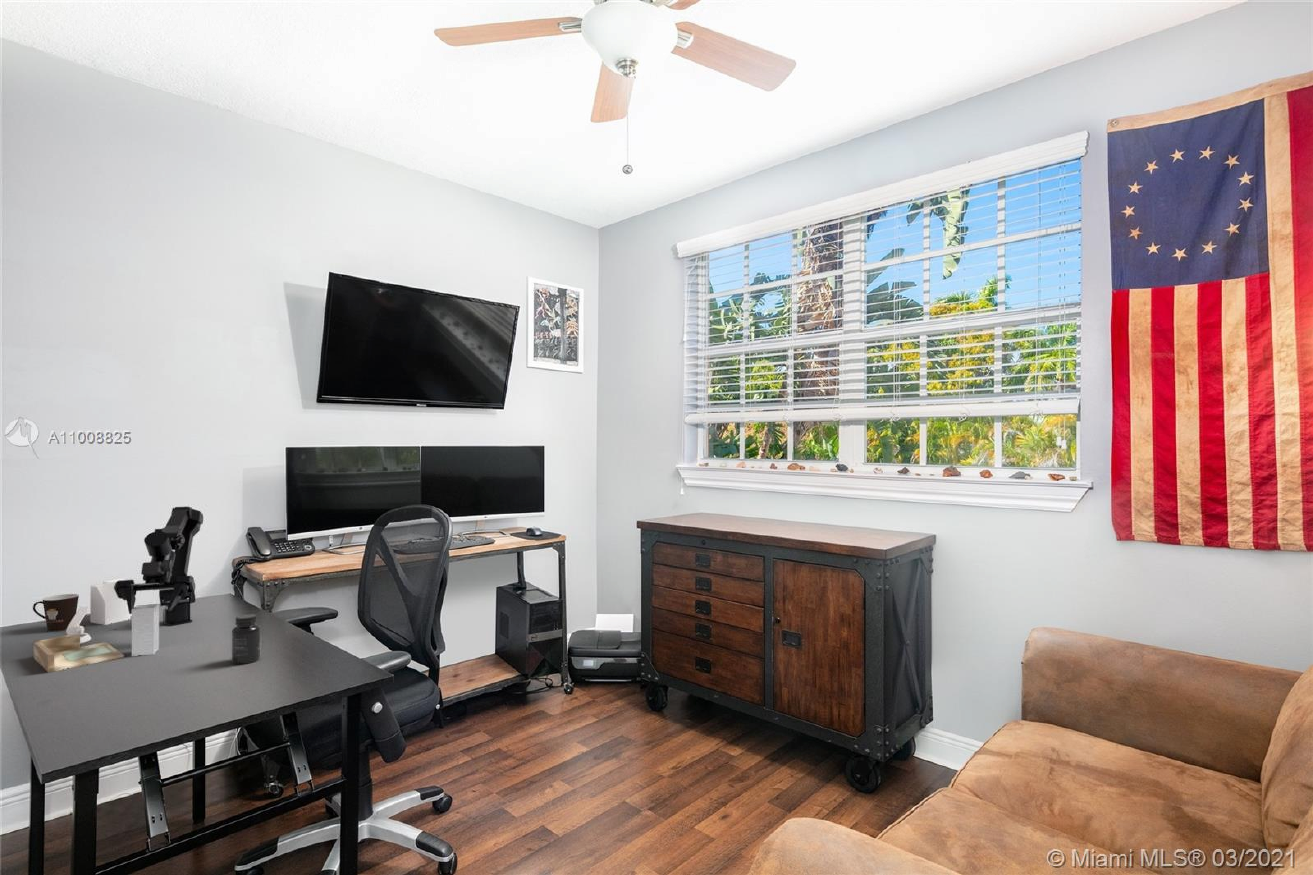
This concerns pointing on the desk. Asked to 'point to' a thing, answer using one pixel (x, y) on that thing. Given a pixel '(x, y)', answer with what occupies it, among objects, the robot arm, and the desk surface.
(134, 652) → the aluminium block
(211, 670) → the desk surface
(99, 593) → the white angled block
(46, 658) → the tan wooden shallow tray
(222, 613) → the desk surface
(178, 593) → the robot arm
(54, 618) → the coffee mug
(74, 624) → the hook
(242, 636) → the supplement bottle
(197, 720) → the desk surface
